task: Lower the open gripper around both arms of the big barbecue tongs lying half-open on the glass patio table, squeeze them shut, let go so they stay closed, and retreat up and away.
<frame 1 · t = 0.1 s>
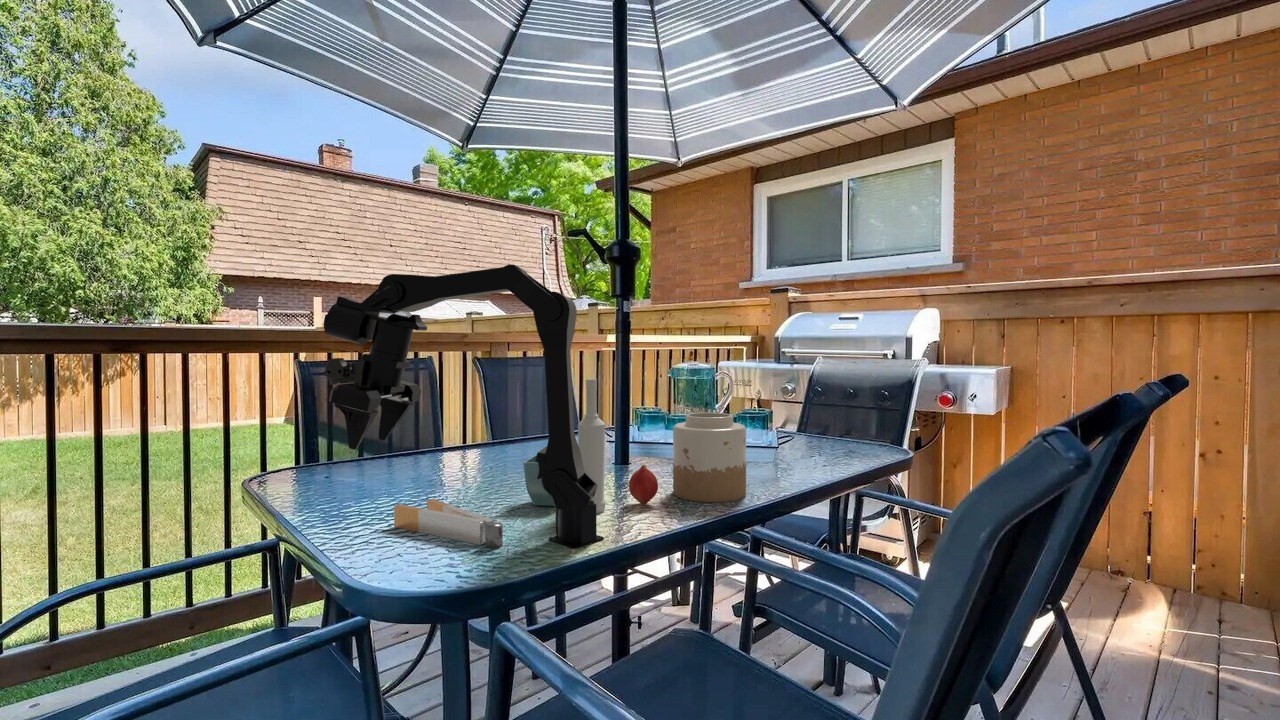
hand: (367, 444, 101), 15 cm above the table, tool pointing down, fingers open, 9 cm apart
bottle: (591, 511, 118), on the table
vase: (709, 494, 131), on the table
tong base: (491, 543, 98), on the table
flower pot: (550, 504, 123), on the table
onion: (643, 505, 122), on the table
tong arm: (437, 523, 102), point 2 cm above the table, hinge at 14.0°
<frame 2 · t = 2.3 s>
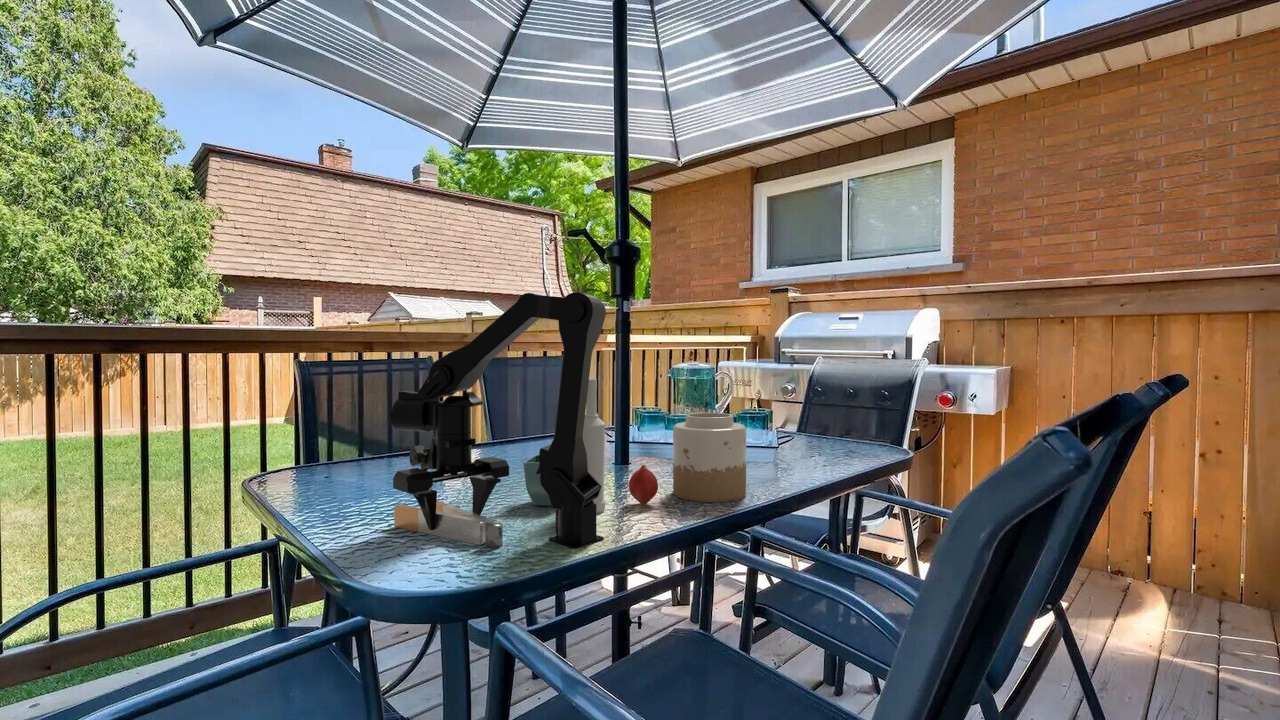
hand: (454, 524, 105), 1 cm above the table, tool pointing down, fingers open, 8 cm apart
tong arm: (437, 523, 102), point 2 cm above the table, hinge at 13.9°, touching gripper
everything else where it was.
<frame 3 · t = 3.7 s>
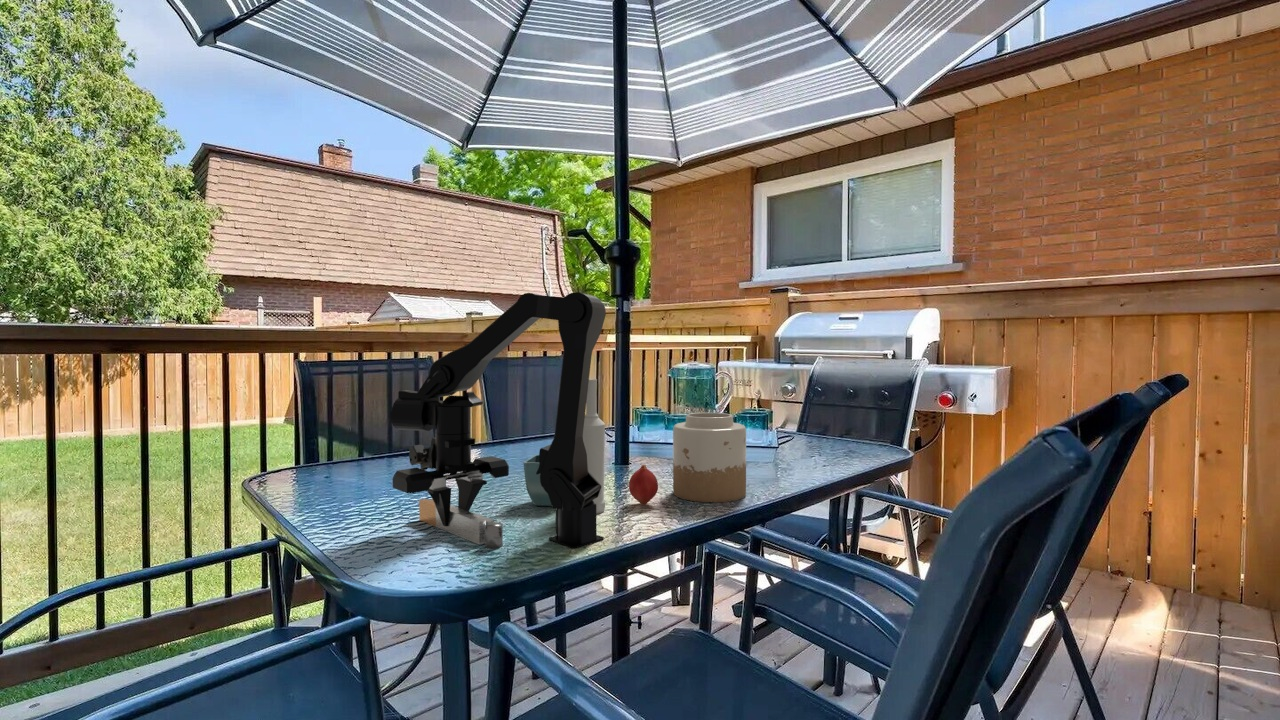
hand: (453, 523, 105), 1 cm above the table, tool pointing down, fingers open, 3 cm apart
tong arm: (450, 520, 104), point 2 cm above the table, hinge at -0.3°, touching gripper
everything else where it was.
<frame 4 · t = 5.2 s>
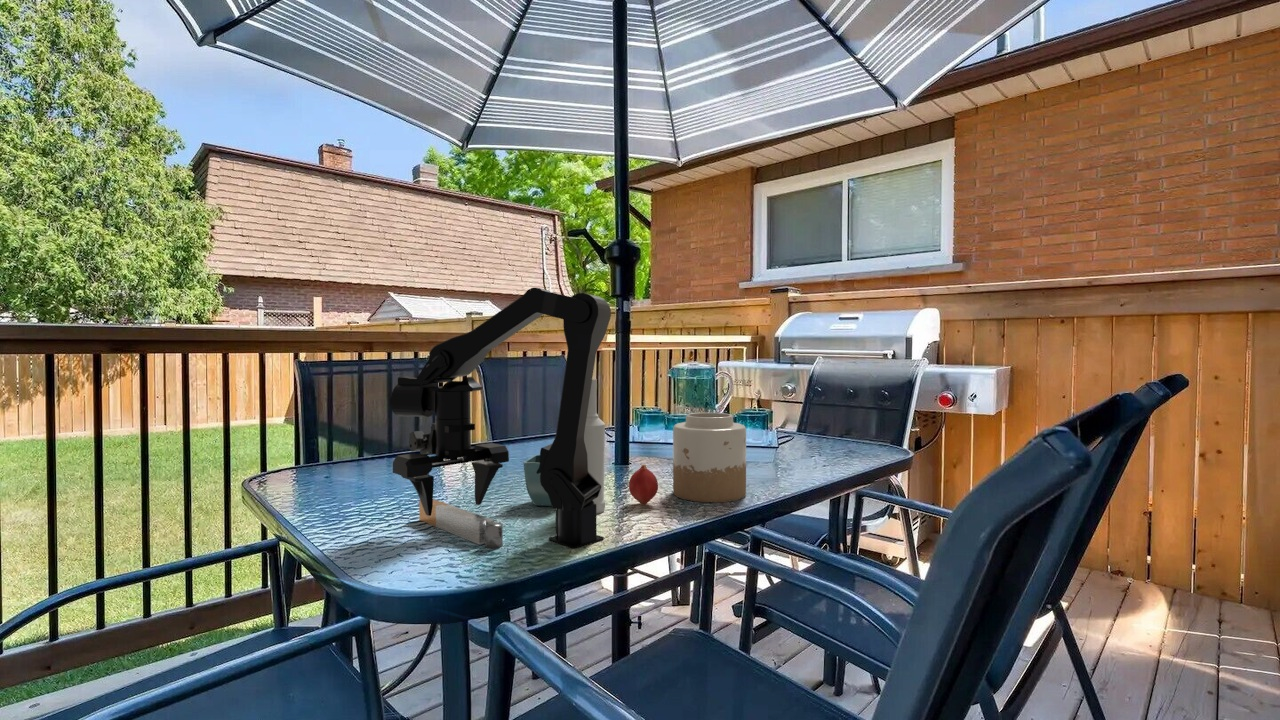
hand: (454, 509, 105), 4 cm above the table, tool pointing down, fingers open, 9 cm apart
tong arm: (450, 520, 104), point 2 cm above the table, hinge at -0.3°
everything else where it was.
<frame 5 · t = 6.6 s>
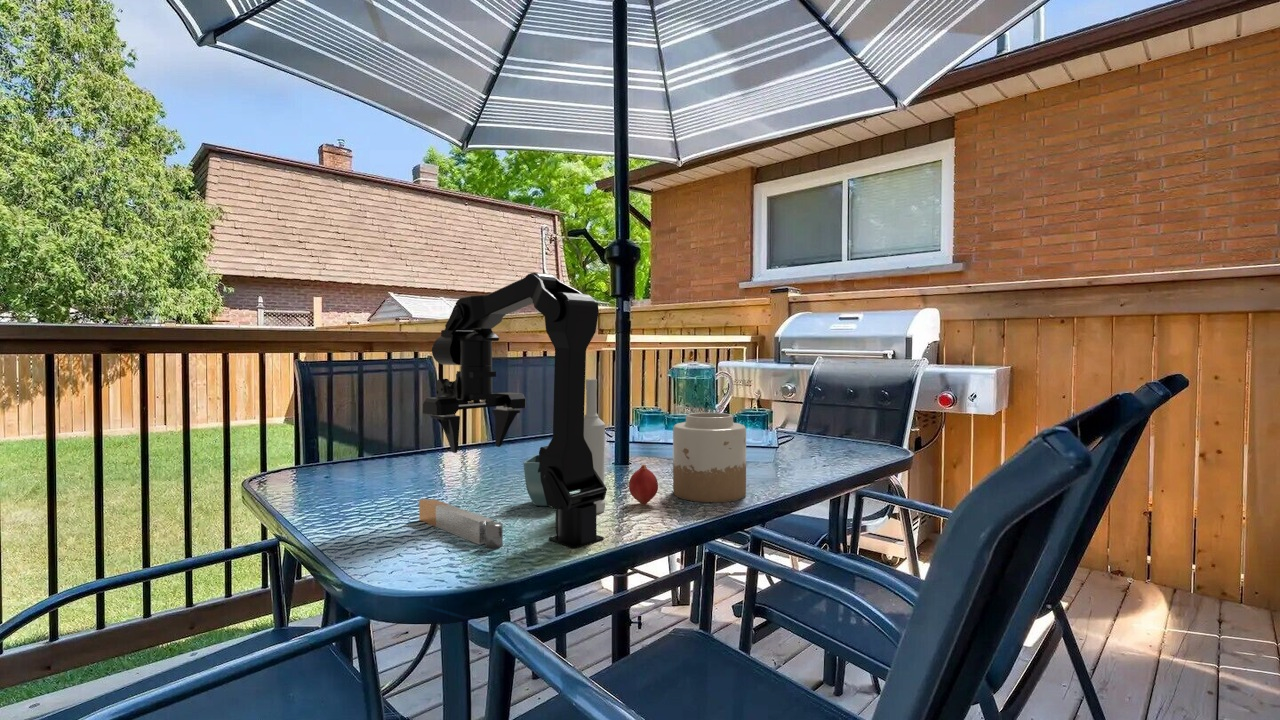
hand: (477, 449, 116), 12 cm above the table, tool pointing down, fingers open, 9 cm apart
nothing on the table moved.
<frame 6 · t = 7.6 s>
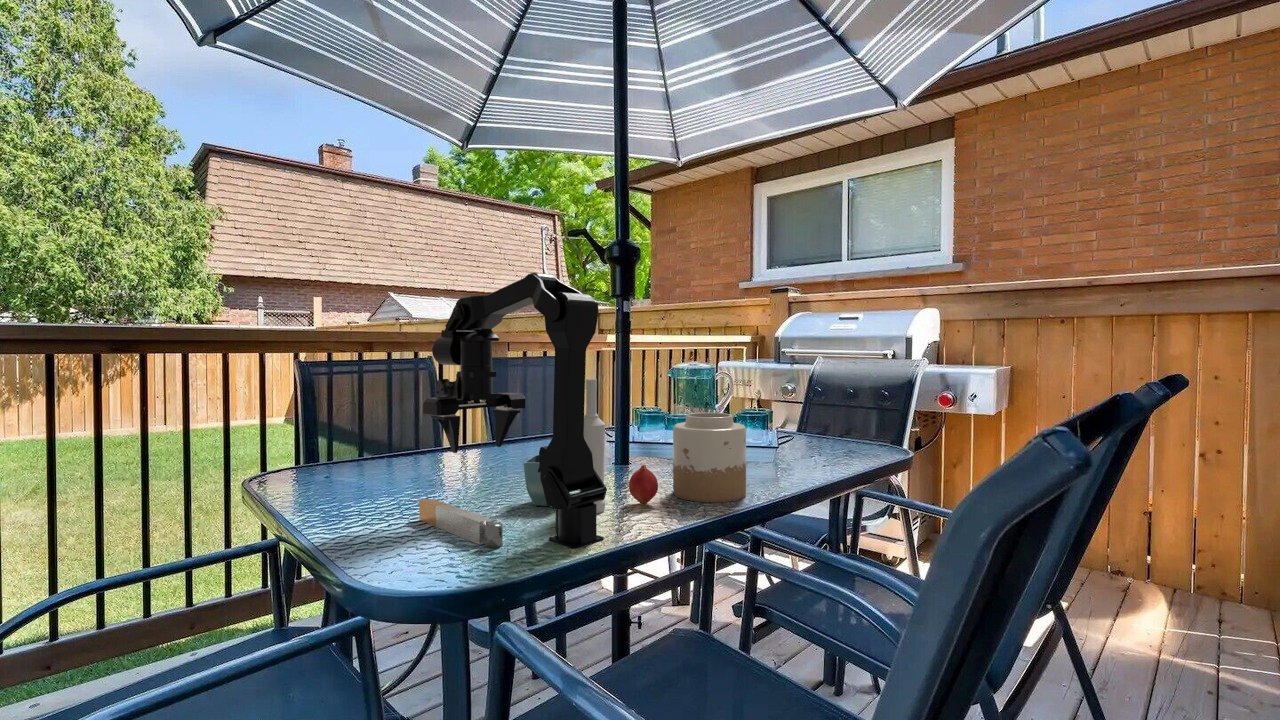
hand: (477, 449, 116), 12 cm above the table, tool pointing down, fingers open, 9 cm apart
nothing on the table moved.
at the end: tong arm at +0° (first picture: +14°); the gripper is holding nothing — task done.
